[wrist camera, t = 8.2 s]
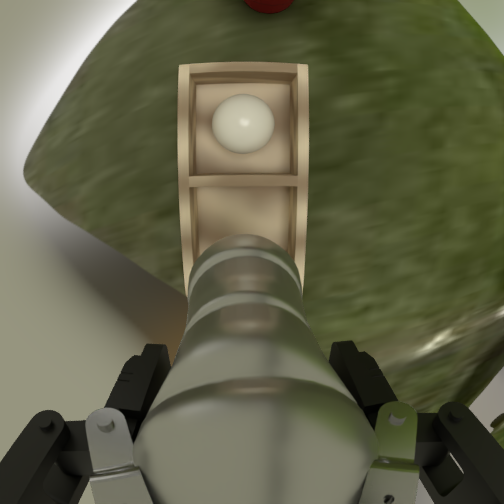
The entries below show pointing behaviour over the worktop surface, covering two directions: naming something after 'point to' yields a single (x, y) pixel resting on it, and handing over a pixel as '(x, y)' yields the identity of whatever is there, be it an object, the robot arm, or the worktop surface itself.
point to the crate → (243, 160)
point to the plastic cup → (269, 5)
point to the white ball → (243, 123)
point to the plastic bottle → (252, 394)
